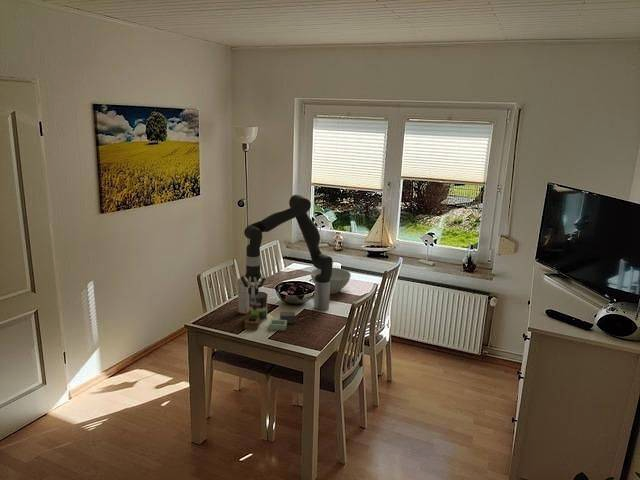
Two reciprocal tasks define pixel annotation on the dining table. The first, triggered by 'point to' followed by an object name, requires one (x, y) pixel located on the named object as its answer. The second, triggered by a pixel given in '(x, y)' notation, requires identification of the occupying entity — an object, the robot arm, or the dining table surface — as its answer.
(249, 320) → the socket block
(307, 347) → the dining table surface
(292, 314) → the chock
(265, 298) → the coffee can
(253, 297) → the pin
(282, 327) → the tray
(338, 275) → the decorative bowl
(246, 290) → the cracker box
